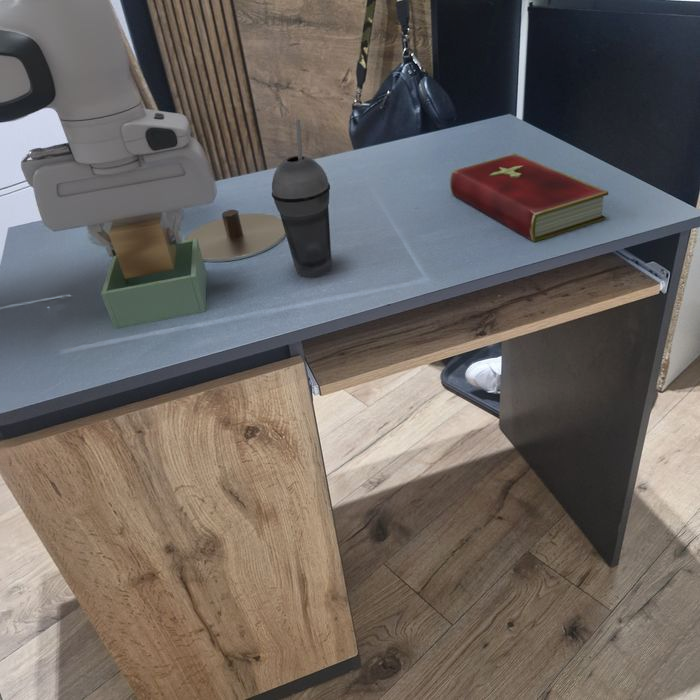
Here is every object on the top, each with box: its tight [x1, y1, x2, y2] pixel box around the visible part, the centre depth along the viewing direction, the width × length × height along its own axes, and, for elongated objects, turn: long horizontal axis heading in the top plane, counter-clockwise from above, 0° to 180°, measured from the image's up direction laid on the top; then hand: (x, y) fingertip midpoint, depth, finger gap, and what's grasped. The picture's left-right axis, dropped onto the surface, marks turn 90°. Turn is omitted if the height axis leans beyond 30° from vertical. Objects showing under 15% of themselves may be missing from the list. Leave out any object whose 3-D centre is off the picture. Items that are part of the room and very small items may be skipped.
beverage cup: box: [271, 119, 332, 279], centre depth 79 cm, size 7×7×20 cm
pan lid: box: [184, 209, 286, 263], centre depth 95 cm, size 16×16×5 cm
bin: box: [100, 239, 207, 330], centre depth 82 cm, size 11×11×6 cm
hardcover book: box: [449, 153, 609, 243], centre depth 93 cm, size 12×21×4 cm, turn 23°
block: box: [109, 212, 176, 279], centre depth 79 cm, size 6×6×6 cm
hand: (146, 248), depth 79 cm, fingers closed on block, 6 cm apart
